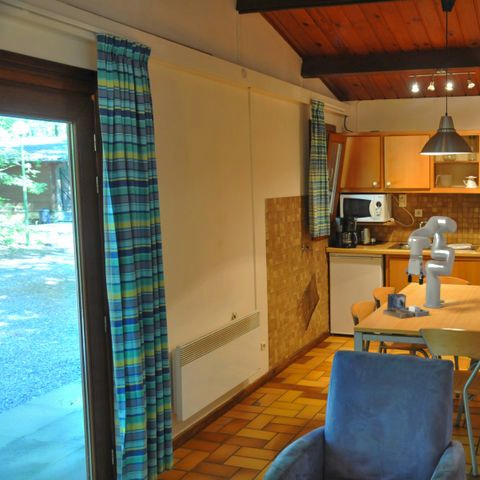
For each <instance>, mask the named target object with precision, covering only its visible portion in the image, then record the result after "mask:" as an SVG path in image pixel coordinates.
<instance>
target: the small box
mask: <svg viewBox="0 0 480 480" xmlns="http://www.w3.org/2000/svg"><path fill="white" fill-rule="evenodd" d="M406 298H407V295H405V294H404V293H388V294H387V306H386V310H387V309H394V308H397V309H402V308H406V305H407V304H406V301H407V299H406Z"/></svg>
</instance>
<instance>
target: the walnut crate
mask: <svg viewBox="0 0 480 480" xmlns="http://www.w3.org/2000/svg"><path fill="white" fill-rule="evenodd" d="M382 312H383V313H382V315H385V316H388V317H389V316H390V317H393V318H398V319H401V320H402V319H408V318H413V317H414V313H413V312H409V311H405V310H401V309H397V308H394V309H387V308H386V309H383V310H382Z"/></svg>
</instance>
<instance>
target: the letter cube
mask: <svg viewBox="0 0 480 480" xmlns="http://www.w3.org/2000/svg"><path fill="white" fill-rule="evenodd" d="M408 308H409V311H413V312H420V309H421V306H419V305H415V304H414V305H408Z"/></svg>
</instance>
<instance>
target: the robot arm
mask: <svg viewBox="0 0 480 480" xmlns="http://www.w3.org/2000/svg"><path fill="white" fill-rule="evenodd" d="M457 228H458V225H457V222H456V221H455V220H454V219H452V218H451V217H449V216H441V215H438V216H437V215H434V216H431V217H430V218H429V219H428V221H427V222H426V224H425V225H424V226H422V227H420V228H417V229H415V230H414V231H412V232H411V234H410V235H409V237H408V239H407V245H408V246H409V247H410V249H409V254H410V255H409V260H408V264H407V265H408V267H405V268H404V271H405V274H406V277H407V283H412V282H413V275H414V276H418V277H419V279H418V286H419V285H420V286H422V285H424V279H425V277H426V279H425V281H426V282H425V302H424V303H423V304H422V306H423V307H424V308H428V309H440V308H441V309H442V307H443V305H442V304H443V303H445V302H446V301H445V300H444V299H441V286H442V285H441V284H442V283H441V279H440V277H439V276H444V277H445V276H446V277H448V276H451V274H452V272H453V267H454V262H455V258H456V257H455V256H456V250H455V248H453V247H452V246H447V237H445V235H444V234H445V233H446V234H454V233H455V232H456V231H457ZM431 237H433V240H432V241H433V242H432V241H431V239H430V238H431ZM431 244H432V246H431ZM430 246H431V250H430V257H431V259H430V260H427V261H426V262H425V263H424V259H423V258H424V255H423V250H424V249H428V248H429V247H430ZM432 259H433V260H432Z"/></svg>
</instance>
